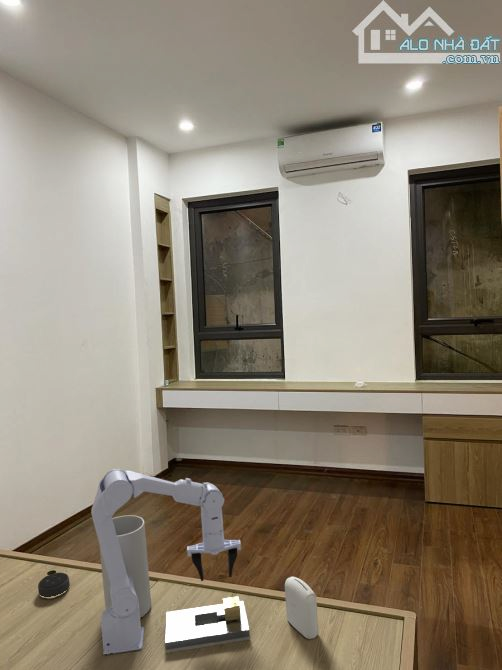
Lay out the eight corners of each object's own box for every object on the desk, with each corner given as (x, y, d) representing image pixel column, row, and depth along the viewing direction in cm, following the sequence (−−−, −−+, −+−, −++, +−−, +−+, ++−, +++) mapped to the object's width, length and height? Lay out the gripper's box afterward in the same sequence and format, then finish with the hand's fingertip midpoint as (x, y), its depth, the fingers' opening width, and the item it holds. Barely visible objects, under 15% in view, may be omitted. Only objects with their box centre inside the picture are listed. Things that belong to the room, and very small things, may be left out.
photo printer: (284, 619, 130) (281, 575, 129) (297, 613, 133) (295, 570, 132) (307, 642, 122) (304, 595, 121) (321, 635, 124) (318, 588, 123)
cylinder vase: (97, 622, 134) (89, 535, 132) (120, 595, 146) (112, 514, 144) (139, 627, 131) (131, 537, 129) (158, 598, 143) (151, 516, 141)
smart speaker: (40, 587, 153) (39, 575, 153) (70, 580, 156) (69, 568, 156) (37, 603, 145) (36, 591, 145) (69, 596, 148) (67, 584, 147)
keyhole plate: (165, 653, 121) (165, 642, 121) (167, 621, 133) (166, 612, 133) (249, 639, 124) (249, 629, 124) (244, 609, 136) (243, 600, 135)
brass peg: (226, 629, 127) (224, 608, 126) (224, 619, 131) (223, 598, 130) (241, 627, 127) (239, 605, 127) (239, 617, 131) (238, 596, 131)
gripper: (185, 539, 128) (189, 589, 129) (240, 533, 130) (244, 581, 131) (186, 527, 135) (189, 574, 136) (238, 521, 137) (241, 567, 138)
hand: (216, 577), depth 134 cm, fingers open, 7 cm apart
